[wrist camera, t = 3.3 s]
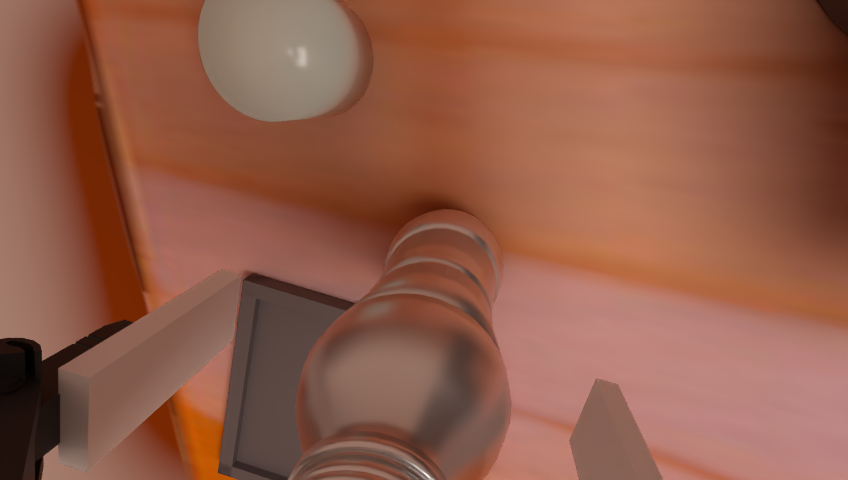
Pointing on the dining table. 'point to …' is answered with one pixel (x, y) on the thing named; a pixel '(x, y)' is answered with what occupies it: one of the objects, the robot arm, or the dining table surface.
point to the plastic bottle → (411, 365)
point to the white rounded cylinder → (285, 56)
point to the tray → (270, 376)
